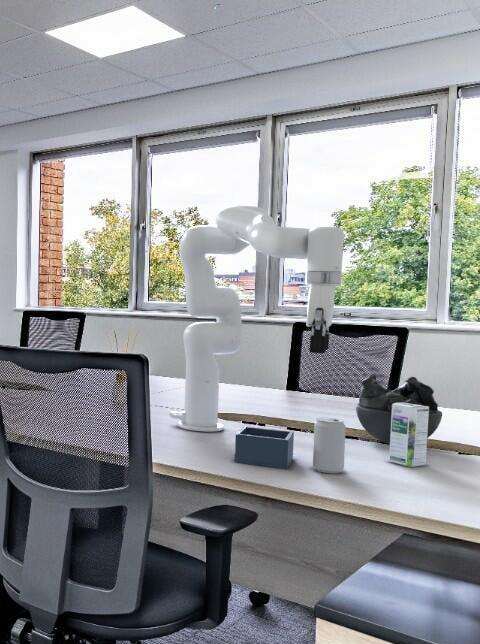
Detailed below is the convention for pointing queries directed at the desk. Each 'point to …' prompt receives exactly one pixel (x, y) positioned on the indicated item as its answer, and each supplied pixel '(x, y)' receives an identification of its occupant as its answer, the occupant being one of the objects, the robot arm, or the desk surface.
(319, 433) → the beverage can
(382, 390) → the bowl of black rocks
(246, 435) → the desk bin
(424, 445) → the syrup box
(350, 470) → the desk surface
